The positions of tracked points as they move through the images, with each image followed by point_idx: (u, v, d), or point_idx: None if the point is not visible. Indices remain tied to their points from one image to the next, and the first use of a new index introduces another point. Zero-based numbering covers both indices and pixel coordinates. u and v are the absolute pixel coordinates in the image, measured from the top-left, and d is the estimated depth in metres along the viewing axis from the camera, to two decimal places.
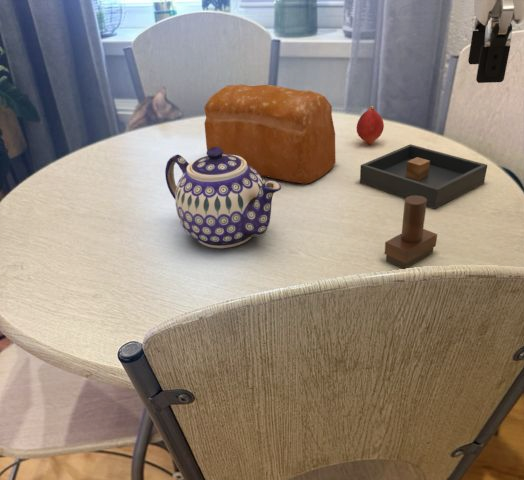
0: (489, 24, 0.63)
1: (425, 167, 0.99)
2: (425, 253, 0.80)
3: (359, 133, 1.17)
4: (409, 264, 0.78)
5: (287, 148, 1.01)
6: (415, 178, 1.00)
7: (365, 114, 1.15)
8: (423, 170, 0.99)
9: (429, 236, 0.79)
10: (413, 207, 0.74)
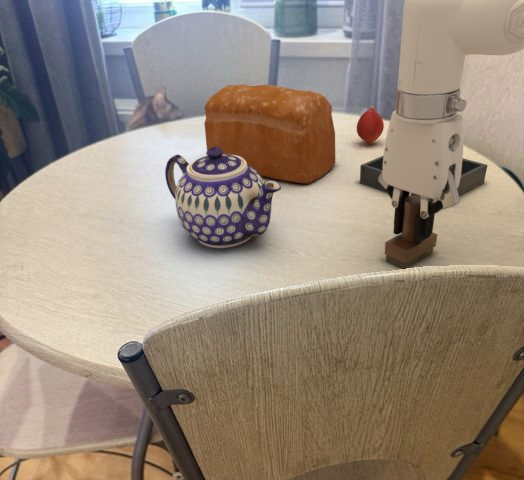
0: (428, 202, 0.72)
1: None
2: (425, 253, 0.80)
3: (359, 133, 1.17)
4: (409, 264, 0.78)
5: (287, 148, 1.01)
6: None
7: (365, 114, 1.15)
8: None
9: None
10: (413, 207, 0.74)
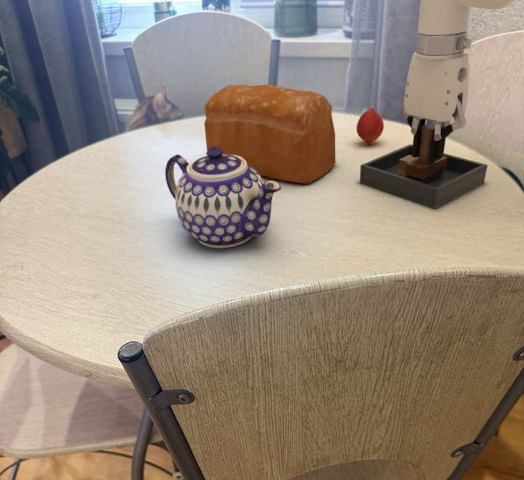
0: (441, 126, 0.91)
1: None
2: (437, 173, 0.99)
3: (359, 133, 1.17)
4: (425, 181, 0.97)
5: (286, 148, 1.01)
6: None
7: (365, 114, 1.15)
8: None
9: (441, 158, 0.98)
10: (428, 132, 0.93)
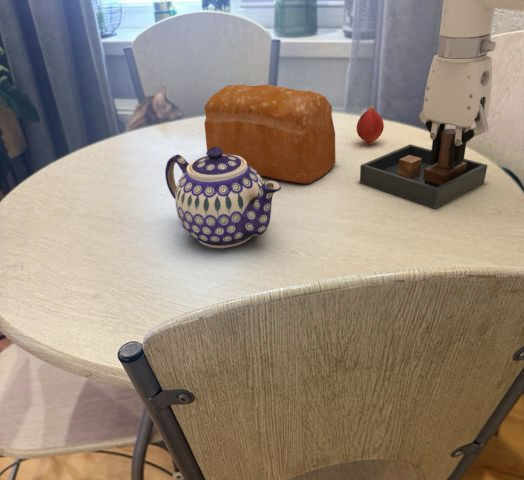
0: (462, 131, 0.89)
1: (417, 165, 1.00)
2: None
3: (359, 133, 1.17)
4: None
5: (286, 148, 1.01)
6: (407, 176, 1.01)
7: (365, 114, 1.15)
8: (415, 168, 1.00)
9: (460, 164, 0.95)
10: (448, 137, 0.91)
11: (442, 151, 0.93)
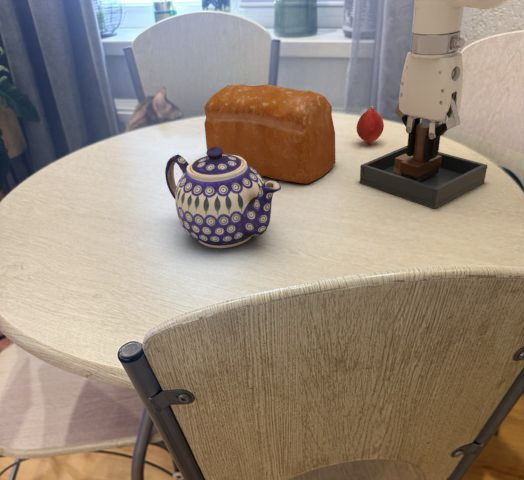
0: (435, 125, 0.92)
1: None
2: (432, 172, 1.00)
3: (359, 133, 1.17)
4: (419, 179, 0.98)
5: (286, 148, 1.01)
6: None
7: (365, 114, 1.15)
8: None
9: (436, 157, 0.98)
10: (423, 130, 0.94)
11: (417, 144, 0.96)
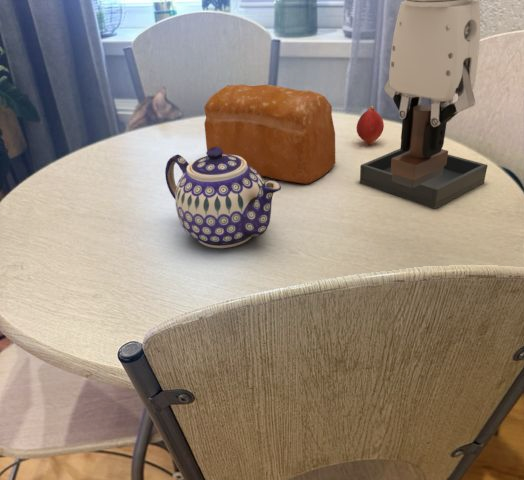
0: (440, 107, 0.65)
1: None
2: (435, 172, 0.73)
3: (359, 133, 1.17)
4: (417, 183, 0.72)
5: (286, 148, 1.01)
6: None
7: (365, 114, 1.15)
8: None
9: (440, 152, 0.72)
10: (422, 115, 0.67)
11: (414, 134, 0.70)
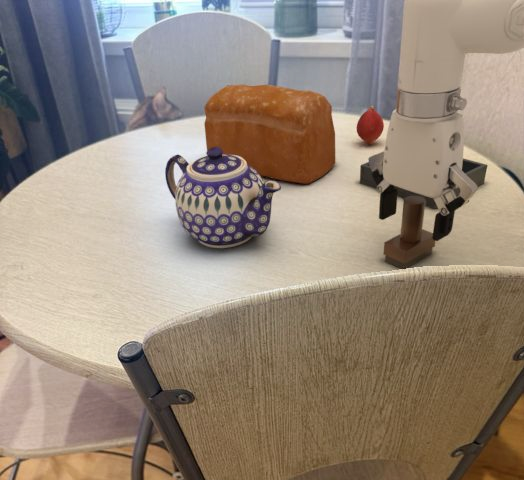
0: (442, 197, 0.70)
1: None
2: (424, 253, 0.80)
3: (359, 133, 1.17)
4: (408, 264, 0.78)
5: (286, 148, 1.01)
6: None
7: (365, 114, 1.15)
8: None
9: (428, 236, 0.79)
10: (412, 207, 0.74)
11: (405, 223, 0.76)
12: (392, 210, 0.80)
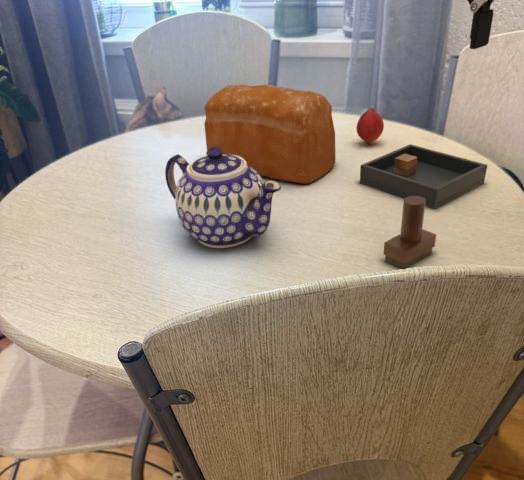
0: None
1: (413, 163, 1.01)
2: (424, 253, 0.80)
3: (359, 133, 1.17)
4: (408, 264, 0.78)
5: (286, 148, 1.01)
6: (403, 174, 1.02)
7: (365, 114, 1.15)
8: (411, 167, 1.01)
9: (428, 236, 0.79)
10: (412, 207, 0.74)
11: (405, 223, 0.76)
12: (485, 38, 0.69)
